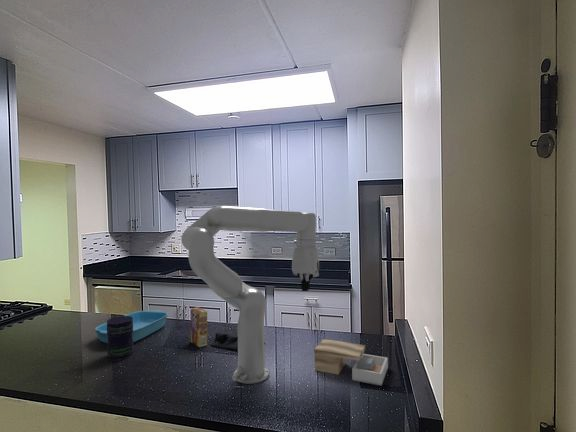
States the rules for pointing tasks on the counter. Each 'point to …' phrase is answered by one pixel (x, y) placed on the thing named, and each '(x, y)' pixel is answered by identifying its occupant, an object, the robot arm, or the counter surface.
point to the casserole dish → (138, 324)
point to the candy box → (199, 327)
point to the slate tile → (366, 363)
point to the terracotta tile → (375, 368)
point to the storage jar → (120, 337)
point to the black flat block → (226, 341)
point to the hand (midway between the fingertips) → (305, 290)
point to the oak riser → (336, 355)
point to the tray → (371, 376)
